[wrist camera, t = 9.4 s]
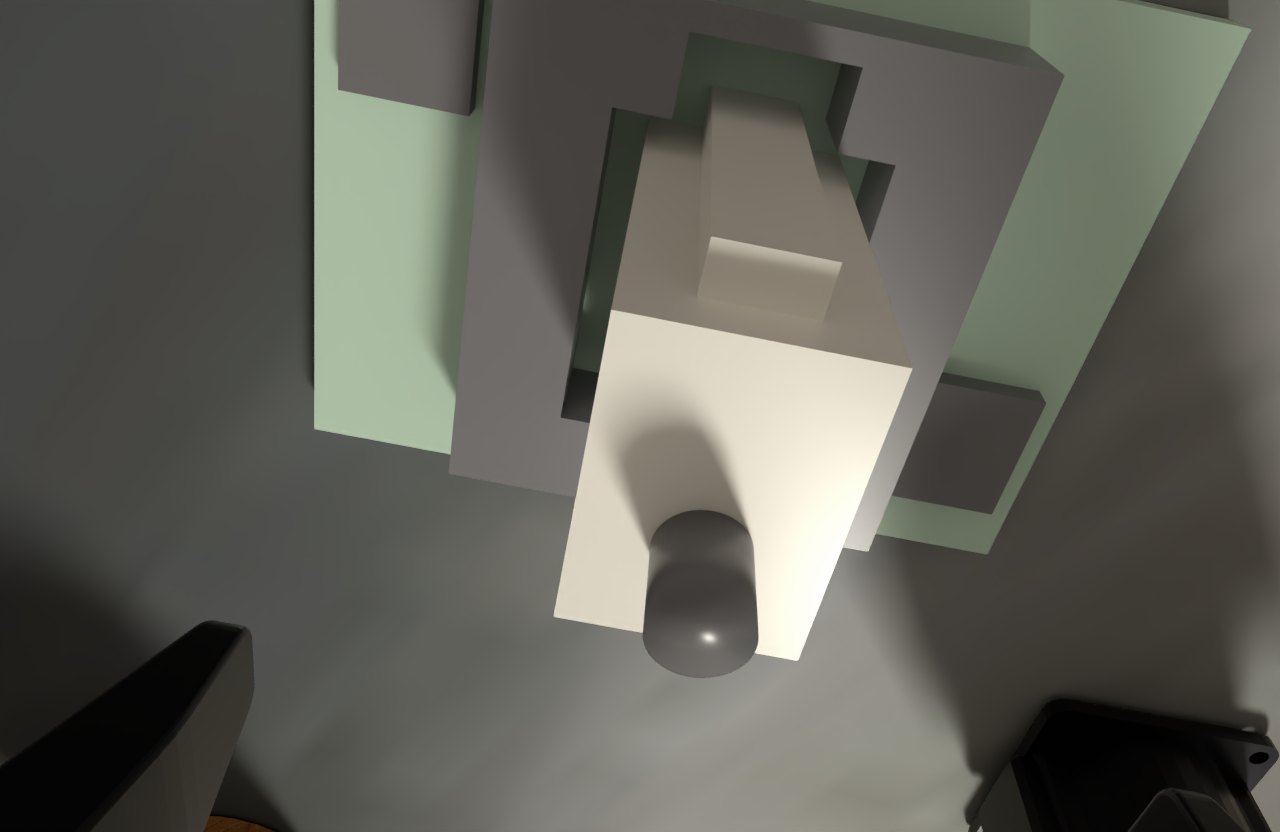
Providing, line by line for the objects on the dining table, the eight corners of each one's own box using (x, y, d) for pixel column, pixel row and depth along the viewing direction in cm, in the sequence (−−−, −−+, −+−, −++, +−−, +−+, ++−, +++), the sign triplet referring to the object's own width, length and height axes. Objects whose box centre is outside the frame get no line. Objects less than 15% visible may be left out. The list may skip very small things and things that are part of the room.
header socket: (1029, 47, 17) (1064, 75, 15) (856, 494, 22) (868, 552, 21) (519, -61, 16) (497, -44, 15) (468, 421, 22) (448, 473, 20)
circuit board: (1230, 20, 17) (1265, 35, 16) (979, 532, 24) (992, 568, 23) (330, -174, 16) (303, -172, 15) (326, 410, 23) (306, 441, 22)
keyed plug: (851, 113, 18) (967, 379, 10) (770, 381, 21) (806, 752, 13) (657, 73, 18) (610, 310, 9) (605, 349, 21) (535, 704, 13)
